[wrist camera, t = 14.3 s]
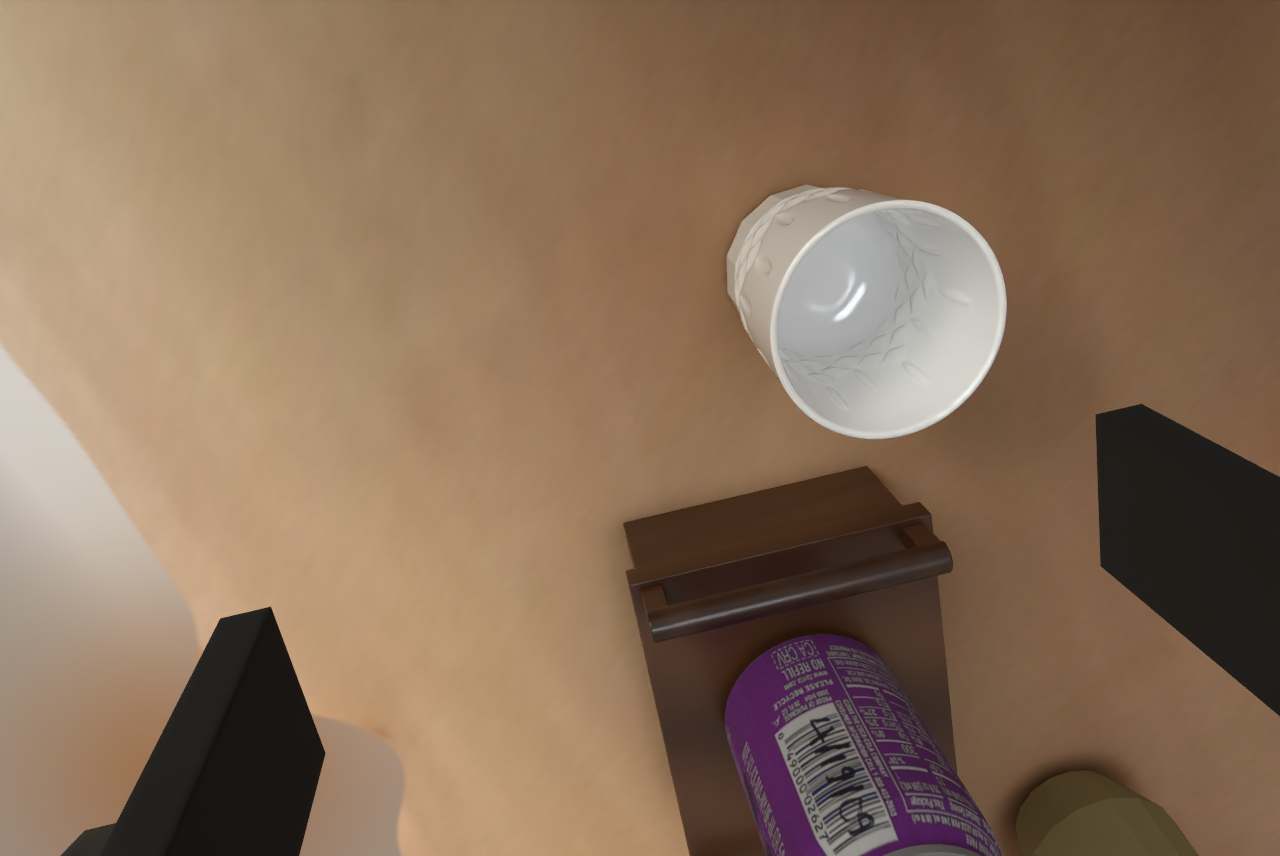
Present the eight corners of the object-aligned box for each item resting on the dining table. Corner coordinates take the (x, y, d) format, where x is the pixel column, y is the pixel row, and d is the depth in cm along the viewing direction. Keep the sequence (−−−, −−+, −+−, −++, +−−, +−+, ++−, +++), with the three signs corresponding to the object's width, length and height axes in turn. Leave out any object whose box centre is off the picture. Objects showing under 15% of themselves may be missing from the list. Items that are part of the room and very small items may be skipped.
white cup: (789, 395, 44) (867, 484, 34) (671, 262, 41) (720, 320, 32) (932, 271, 43) (1052, 329, 33) (819, 127, 40) (916, 145, 31)
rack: (612, 514, 45) (638, 621, 36) (874, 453, 45) (961, 544, 37) (676, 800, 50) (711, 951, 42) (908, 742, 51) (990, 880, 42)
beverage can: (701, 762, 42) (774, 1018, 31) (746, 612, 40) (842, 827, 28) (860, 781, 43) (986, 1032, 32) (912, 636, 41) (1066, 851, 30)
